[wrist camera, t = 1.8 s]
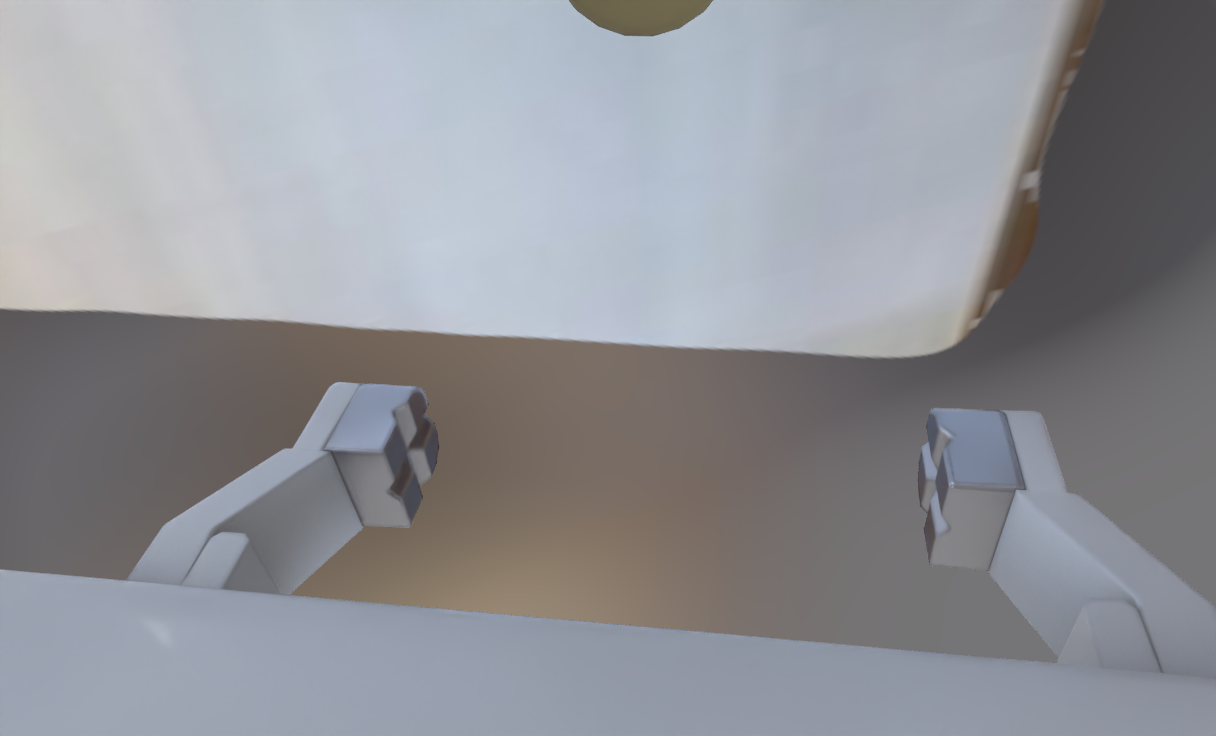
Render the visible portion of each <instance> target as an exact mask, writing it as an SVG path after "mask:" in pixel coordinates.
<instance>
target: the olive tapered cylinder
mask: <svg viewBox="0 0 1216 736" xmlns="http://www.w3.org/2000/svg"><path fill="white" fill-rule="evenodd" d="M569 1H570V3H571V4H572V5H573V7H574V8H575V9H576V10H577V11H579V12H580V13H581V14H583V15H584V16H585V17H587V18H588V19H589V20H591V21H592V22H593V23H595V24H596V25H597V26H599V27H602V28H605V29H607V30H610V31H613V32H616V33H619V34H622V35H625V36H655V35H659V34H662V33H665V32H669V31H672V30H675V29H679V28H681V27H682V26H683V25H685V24H686V23H688V22H689V21H691V20H692V19H694V18H695V17H697V16H698V15H700V14H701V13H702V12H704V11H705V10H706V8H707V7H708V6H709V5H710V3H711V2H712V1H713V0H569Z"/></svg>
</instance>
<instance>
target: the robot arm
mask: <svg viewBox="0 0 1216 736" xmlns="http://www.w3.org/2000/svg"><path fill="white" fill-rule="evenodd" d="M428 405H429V403H428V400H427V398H426V395H425V392H424V390H423V389H421V388H419V387H413V386H398V385H397V386H396V385H382V384H368V383H364V384H357V383H343V382H336V383H335V384H333V385H332V386H330V387H329V388H328V390H327V392H326V394H325V395H324V397H323V399H322V400H321V402H320V404H319V405H318V407H317V409H316V410H315V412H314V414H313V415H312V417H311V419H310V420H309V422H308V424H307V425H306V427H305V429H304V431H303V432H302V434H301V435H300V437H299V439H298V440H297V442H296V444H295V445H294V447H293V449H283V450H282V451H280V452H278V453H277V454H275V455H274V456H272V457H271V458H269V459H267V460H266V461H264V462H262V463H261V464H259V465H258V466H256V467H255V468H253V469H252V470H250V471H249V472H247V473H245V474H244V475H242V476H240V477H239V478H237V479H236V480H234V481H233V482H231V483H230V484H228V485H226V486H225V487H223V488H221V489H220V490H218V491H217V492H215V493H214V494H212V495H210V496H209V497H207V498H206V499H204V500H203V501H201V502H199V503H198V504H196V505H195V506H193V507H192V508H190V509H188V510H187V511H185V512H184V513H182V514H181V515H179V516H177V517H176V518H174V519H173V520H171V521H169V522H168V523H166V524H165V525H164V526H163V527H162V529H161V530H160V532H159V533H158V535H157V536H156V537H155V539H154V540H153V542H152V543H151V545H150V546H149V548H148V549H147V550H146V552H145V553H144V555H143V556H142V558H141V559H140V561H139V562H138V563H137V565H136V566H135V568H134V569H133V571H132V572H131V574H130V575H129V577H128V578H127V579H126V581H123V580H111V579H101V578H89V577H79V576H67V575H55V574H45V573H33V572H22V571H10V570H0V736H1216V609H1215V607H1214V605H1213V604H1212V603H1210V602H1209V601H1208V600H1207V599H1206V598H1204V597H1203V596H1202V595H1201V594H1200V593H1198V592H1197V591H1196V590H1195V589H1193V588H1192V587H1191V586H1190V585H1189V584H1187V583H1186V582H1185V581H1184V580H1183V579H1181V578H1180V577H1179V576H1178V575H1177V574H1175V573H1174V572H1173V571H1172V570H1170V569H1169V568H1168V567H1167V566H1165V565H1164V564H1163V563H1162V562H1161V561H1160V560H1158V559H1157V558H1156V557H1155V556H1153V555H1152V554H1151V553H1150V552H1148V551H1147V550H1146V549H1145V548H1144V547H1143V546H1141V545H1140V544H1139V543H1138V542H1137V541H1135V540H1134V539H1133V538H1132V537H1130V536H1129V535H1128V534H1127V533H1125V532H1124V531H1123V530H1122V529H1121V528H1119V527H1118V526H1117V525H1116V524H1115V523H1113V522H1112V521H1111V520H1110V519H1109V518H1107V517H1106V516H1105V515H1104V514H1102V513H1101V512H1100V511H1099V510H1098V509H1097V508H1095V507H1094V506H1093V505H1092V504H1090V503H1089V502H1088V501H1087V500H1086V499H1084V498H1083V497H1082V496H1081V495H1080V494H1078V493H1068V492H1067V489H1066V486H1065V483H1064V480H1063V477H1062V474H1061V471H1060V468H1059V465H1058V462H1057V458H1056V455H1055V452H1054V449H1053V446H1052V443H1051V440H1050V437H1049V434H1048V431H1047V428H1046V425H1045V422H1044V419H1043V416H1042V415H1041V414H1040V413H1039V412H1038V411H1018V410H1002V411H999V410H975V409H973V410H972V409H947V408H932V410H931V411H930V414H929V417H928V421H927V426H926V428H927V434H928V441H929V442H928V443H927V444H925V445H924V446H923V447H922V450H921V455H920V461H919V471H918V489H919V499H920V506H921V508H922V509H923V510H924V511H925V512H926V513H927V518H926V523H925V527H924V534H925V540H926V546H927V552H928V559H929V565H933V566H944V567H954V568H964V569H975V570H985V571H989V573H988V574H989V575H990V576H991V577H992V578H993V580H994V581H995V582H996V583H997V585H998V586H999V587H1000V588H1001V589H1002V591H1003V592H1004V593H1005V594H1006V595H1007V597H1008V598H1009V599H1010V600H1011V601H1012V603H1013V604H1014V605H1015V606H1016V607H1017V608H1018V610H1019V611H1020V612H1021V613H1022V615H1023V616H1024V617H1025V618H1026V619H1027V621H1028V622H1029V623H1030V624H1031V625H1032V627H1033V628H1034V629H1035V630H1036V632H1037V633H1038V634H1039V635H1040V636H1041V637H1042V639H1043V640H1044V641H1045V642H1046V644H1047V645H1048V646H1049V647H1050V648H1051V650H1052V651H1053V652H1054V653H1055V654H1056V656H1057V657H1058V658H1059V659H1058V661H1057V663H1045V662H1033V661H1022V660H1011V659H1000V658H988V657H977V656H966V655H955V654H943V653H933V652H921V651H910V650H898V649H887V648H877V647H876V648H875V647H866V646H854V645H842V644H832V643H820V642H810V641H798V640H787V639H776V638H764V637H753V636H741V635H731V634H719V633H709V632H697V631H686V630H675V629H664V628H652V627H641V626H630V625H619V624H608V623H596V622H585V621H574V620H562V619H551V618H540V617H529V616H518V615H505V614H494V613H484V612H473V611H461V610H450V609H439V608H428V607H416V606H405V605H393V604H383V603H371V602H360V601H349V600H338V599H326V598H315V597H304V596H292V595H290V594H291V593H292V592H293V591H294V590H295V589H296V588H298V587H299V586H300V585H301V584H302V583H303V582H304V581H305V580H306V579H308V578H309V577H310V576H311V575H312V574H313V573H314V572H315V571H316V570H317V569H319V568H320V567H321V566H322V565H323V564H324V563H325V562H326V561H327V560H329V559H330V558H331V557H332V556H333V555H334V554H335V553H336V552H337V551H338V550H340V549H341V548H342V547H343V546H344V545H345V544H346V543H347V542H348V541H349V540H350V539H352V538H353V537H354V536H355V535H356V534H357V533H358V532H359V531H360V530H362V529H363V526H384V527H407V528H408V527H409V528H410V527H411V525H412V522H413V520H414V518H415V515H416V513H417V510H418V508H419V505H420V503H421V501H422V498H423V496H422V492H421V490H420V485H421V484H422V483H424V482H425V481H426V480H428V479H429V478H430V477H431V476H432V474H433V471H434V469H435V466H436V464H437V456H438V450H439V442H438V433H437V430H436V426H435V423H434V422H432V420H430V419H429V418H428V417H427V416H426V415H424V414H425V411H426V409H427V407H428Z"/></svg>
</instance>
